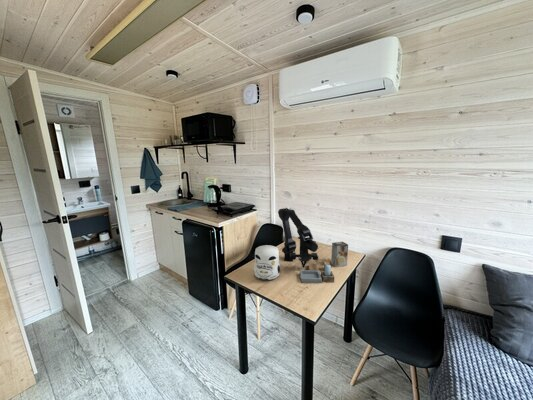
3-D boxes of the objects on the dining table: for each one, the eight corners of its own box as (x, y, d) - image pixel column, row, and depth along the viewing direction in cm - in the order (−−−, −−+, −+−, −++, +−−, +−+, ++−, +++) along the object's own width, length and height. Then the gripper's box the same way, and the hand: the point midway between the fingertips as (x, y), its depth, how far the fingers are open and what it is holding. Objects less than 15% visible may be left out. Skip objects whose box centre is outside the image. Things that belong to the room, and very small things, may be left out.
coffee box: (341, 261, 161) (343, 241, 157) (347, 265, 155) (348, 244, 151) (330, 263, 158) (332, 242, 155) (335, 267, 152) (337, 246, 149)
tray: (301, 282, 134) (301, 278, 134) (299, 273, 145) (300, 270, 144) (321, 283, 134) (321, 279, 133) (318, 274, 144) (318, 270, 143)
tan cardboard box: (309, 273, 146) (309, 269, 145) (308, 266, 154) (308, 263, 154) (318, 273, 145) (318, 270, 145) (316, 266, 154) (317, 263, 153)
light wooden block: (324, 271, 147) (325, 264, 146) (323, 268, 151) (324, 261, 150) (329, 271, 147) (329, 264, 146) (328, 268, 151) (328, 261, 150)
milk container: (259, 285, 132) (258, 258, 128) (250, 271, 147) (250, 246, 144) (284, 279, 138) (285, 253, 134) (273, 266, 154) (273, 242, 150)
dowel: (324, 280, 136) (325, 267, 135) (323, 277, 140) (324, 264, 138) (330, 280, 136) (331, 267, 134) (329, 277, 140) (330, 264, 138)
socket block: (322, 281, 135) (322, 276, 134) (320, 275, 142) (320, 270, 141) (334, 282, 134) (334, 277, 134) (331, 276, 141) (331, 271, 141)
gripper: (290, 251, 139) (290, 273, 142) (320, 251, 138) (319, 274, 141) (290, 244, 150) (289, 265, 153) (317, 244, 149) (316, 265, 152)
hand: (303, 267), depth 150 cm, fingers closed
